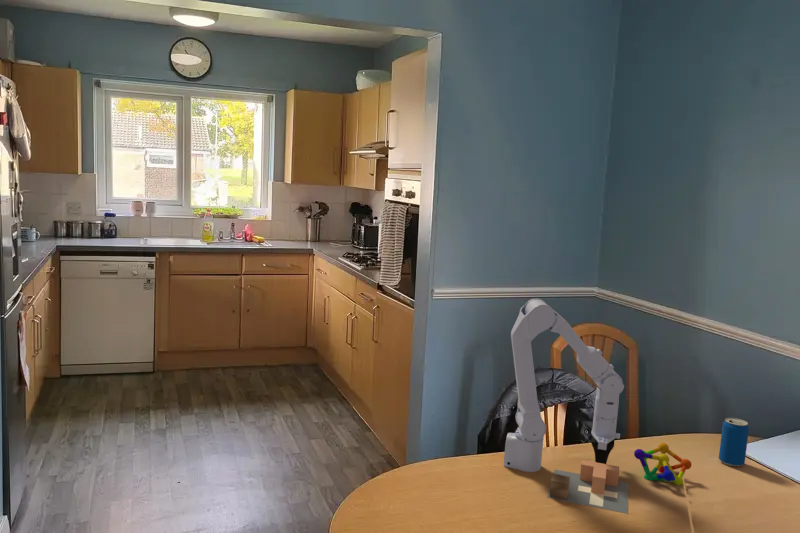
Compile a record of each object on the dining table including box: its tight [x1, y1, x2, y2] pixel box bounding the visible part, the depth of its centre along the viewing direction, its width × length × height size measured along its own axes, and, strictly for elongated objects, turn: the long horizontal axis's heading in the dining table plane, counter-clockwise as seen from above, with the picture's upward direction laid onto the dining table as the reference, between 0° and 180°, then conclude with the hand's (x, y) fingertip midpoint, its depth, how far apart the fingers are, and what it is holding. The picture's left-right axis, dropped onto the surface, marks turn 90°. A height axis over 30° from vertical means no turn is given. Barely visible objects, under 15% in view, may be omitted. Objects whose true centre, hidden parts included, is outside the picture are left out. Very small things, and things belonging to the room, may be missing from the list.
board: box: [546, 469, 629, 515], centre depth 163 cm, size 18×17×1 cm
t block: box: [579, 459, 620, 495], centre depth 166 cm, size 9×9×4 cm
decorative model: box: [633, 442, 692, 486], centre depth 174 cm, size 13×9×15 cm
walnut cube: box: [549, 473, 570, 500], centre depth 160 cm, size 4×4×4 cm
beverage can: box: [718, 417, 750, 468], centre depth 187 cm, size 6×6×12 cm
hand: (600, 466), depth 175 cm, fingers closed
